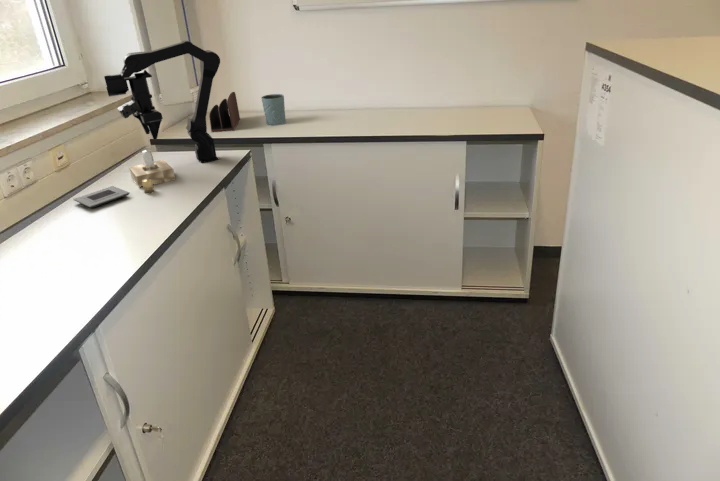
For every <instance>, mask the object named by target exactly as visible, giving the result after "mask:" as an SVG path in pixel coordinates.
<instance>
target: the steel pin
mask: <svg viewBox="0 0 720 481" xmlns="http://www.w3.org/2000/svg"><path fill="white" fill-rule="evenodd" d="M141 154H142V159H143V162H144V163H143V164H145V167H146V171H148V170H153V169H155V165H154V162H155V161H154V156H153V152H152V149H143V150H141Z"/></svg>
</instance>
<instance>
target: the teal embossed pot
mask: <svg viewBox="0 0 720 481" xmlns="http://www.w3.org/2000/svg"><path fill="white" fill-rule="evenodd" d="M260 98H261V103H262V107H263V112H264V117H265V122H266V124H267V125H268V126H279V125H284V124H286V111H285V108H286V107H285V96H284V94H281V93H271V94H265V95H262V96H261V97H260Z"/></svg>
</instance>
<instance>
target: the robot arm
mask: <svg viewBox="0 0 720 481" xmlns="http://www.w3.org/2000/svg"><path fill="white" fill-rule="evenodd" d="M187 54H188V55H190V56H192V57H193V58H195V59H198V60H199V70H200V80H199V86H198V91H197V97H196V101H195V106H194V107H195V108H194V113H193V115H192V118H191V117H187V126H186V127H185V129H186V130H187V134H188V136H189V137H190V139H191V140H192V141H193V142H195V145H194V146H195V148H194V152H195V158H196V160H197V161H199V162H200V163H208V162H213V161H217V160H219V157H218V156H217V150H216V147H215V139H214V138H213V137H212V136H211V135H210V133H208V132H207V129H208V128H207V126H208V124H207V112H208V108H209V103H210V97H211V91H212V86H213V81H214V78H215V76H216V75H217V73H218V69H219V67H220V64H221V58H220V56H219V55H218V54H217V53H216V52H215V51H212V50H209V49H206V50H204V49H203V48H201V47H198V46H197V45H195V44H193V43H192V42H191V41H189V40H186V39H185V40H182V41H181V42H178V43H174V44H170V45H167V46H163V47H161V48H155V49H152V50H149V51H137V52H128V53H126V54H125V55H124V58H123V64H124V65H123V67H122V69H121V71H120V73H117V74H104V75H103V78H104V81H105V87H106V91H107V94H108V97H115V96H123V95H127V92H129V91H130V92H131V95H130V100H129V101H128V102H125V103H124V104H122V105H120V106H118V107H117V111H118V113H119V114H120V115H121V117H122V118H124V119H128V118H129V117H130V116H132V117H134V118H136V119H137V120H138V121H139V122H140V124H141V127H142V128H143V130H144V132H145V134H146V135H149V134H150V135H151V137H152V139H153V140H158V136H159V130H160V126H161V123H162V121H163V120H164V118H163V114H162V113H161V112H160V111H159V110H156V107H155V105H153V100H152V98H153V95H152V94H151V92H150V88H149V84H148V78H152V77H153V75H152V74H151V73H150V72H148V71H147V70H146V69H147V68H149V67H151V66H153V65H154V64H157V63H159V62H163V61H166V60H169V59H170V60H171V59H173V58H177V57H181V56H184V55H187ZM132 75H133V76H132ZM128 84H129V85H128ZM129 87H130V88H129Z"/></svg>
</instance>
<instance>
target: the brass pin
mask: <svg viewBox="0 0 720 481" xmlns="http://www.w3.org/2000/svg"><path fill="white" fill-rule="evenodd" d="M142 184H143V187H142V188H143V191H144V194H146V193H149V194H153V193H154V192H155V189H154V185H153V183H152V179H144V180H142ZM152 192H153V193H152Z"/></svg>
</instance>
